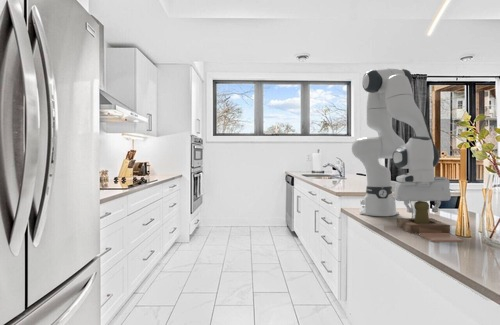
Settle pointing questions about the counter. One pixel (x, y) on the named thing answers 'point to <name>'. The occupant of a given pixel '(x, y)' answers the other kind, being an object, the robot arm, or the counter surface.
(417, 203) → the olive flared column
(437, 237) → the terracotta tile
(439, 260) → the counter surface
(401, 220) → the walnut holder
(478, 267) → the counter surface
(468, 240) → the counter surface
